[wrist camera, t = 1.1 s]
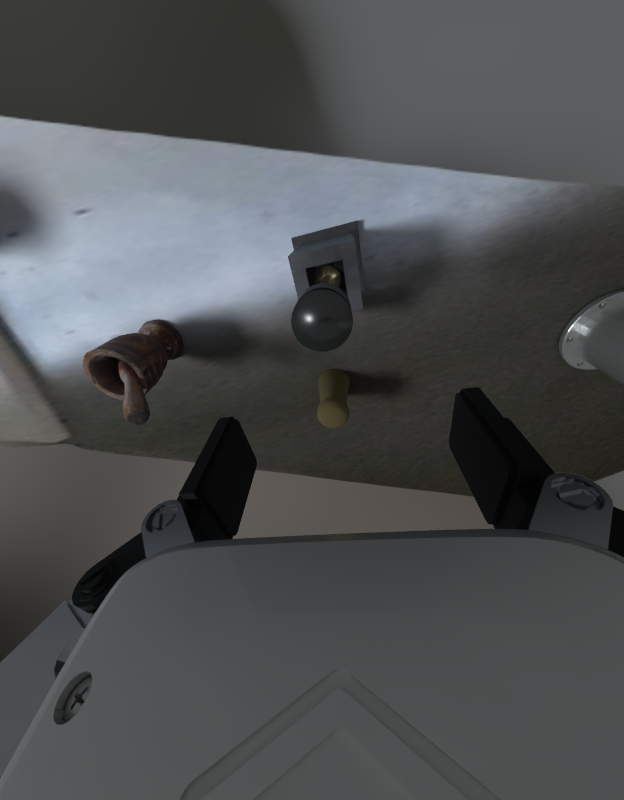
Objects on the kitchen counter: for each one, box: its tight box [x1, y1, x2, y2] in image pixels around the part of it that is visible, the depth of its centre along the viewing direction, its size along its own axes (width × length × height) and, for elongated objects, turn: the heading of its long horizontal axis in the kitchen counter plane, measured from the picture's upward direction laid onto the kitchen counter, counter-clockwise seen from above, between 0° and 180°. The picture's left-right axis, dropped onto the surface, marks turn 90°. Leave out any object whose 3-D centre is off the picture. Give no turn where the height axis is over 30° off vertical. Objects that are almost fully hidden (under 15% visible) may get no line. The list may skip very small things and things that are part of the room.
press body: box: [288, 221, 365, 311], centre depth 35 cm, size 9×11×12 cm
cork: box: [317, 369, 350, 428], centre depth 46 cm, size 6×6×11 cm
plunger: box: [291, 265, 353, 351], centre depth 25 cm, size 4×4×15 cm
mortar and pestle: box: [83, 320, 183, 425], centre depth 40 cm, size 12×9×20 cm
